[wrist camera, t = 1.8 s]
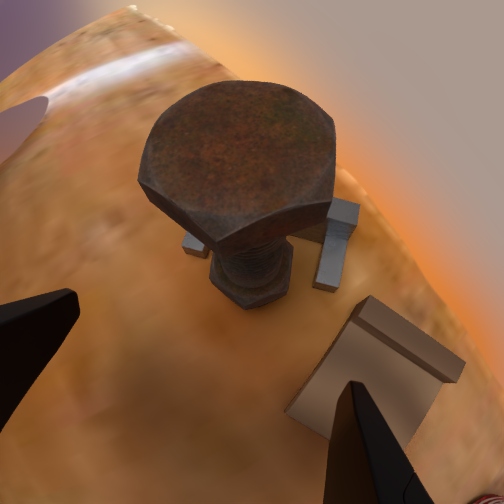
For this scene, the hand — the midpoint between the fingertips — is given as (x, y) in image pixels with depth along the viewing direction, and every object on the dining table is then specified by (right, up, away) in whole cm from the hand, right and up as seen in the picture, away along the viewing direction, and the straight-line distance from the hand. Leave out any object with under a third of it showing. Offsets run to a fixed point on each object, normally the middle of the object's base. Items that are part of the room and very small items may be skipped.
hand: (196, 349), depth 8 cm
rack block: (+10, -7, +10) cm, 16 cm away
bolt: (+2, 0, +13) cm, 13 cm away
